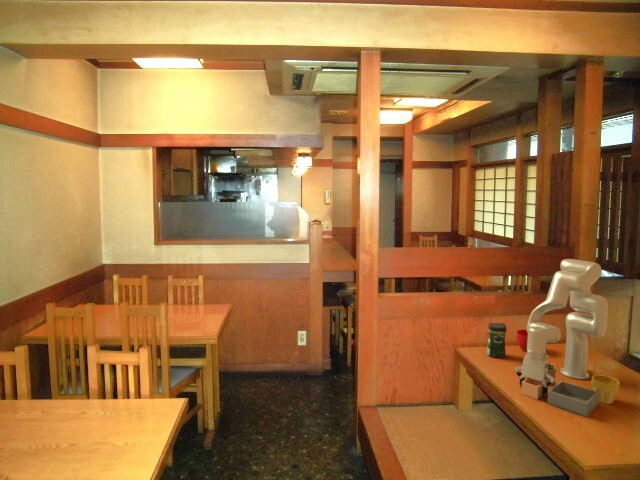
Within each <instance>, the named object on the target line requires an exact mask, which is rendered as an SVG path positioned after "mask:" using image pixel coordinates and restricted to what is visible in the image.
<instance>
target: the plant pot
mask: <svg viewBox="0 0 640 480" xmlns="http://www.w3.org/2000/svg"><path fill="white" fill-rule="evenodd" d="M620 384H621V383H620V380H619V379H617V378H615V377H612V376H609V375H605V374H594V375H592V376H591V385H592V388H593V389H592V390H594V391H597V392H599V394H598V403H601V404H606V405H612V404H613V403H614V400H615V398H616V395H617V392H618V391H619V390H620Z"/></svg>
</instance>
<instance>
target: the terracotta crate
mask: <svg viewBox="0 0 640 480" xmlns="http://www.w3.org/2000/svg"><path fill="white" fill-rule="evenodd" d="M543 386H544V385H543V384H542V382H540V381H537V380H534V379H531V378H528V377H525V380H524V381H522V388H521V391H520V393H521V394H520V395H522V396H525V397H527V398H530V397H531V399H533V398H534V399H533V400H536V399H540V398H541V397H542V396H543V395H542V389H543Z"/></svg>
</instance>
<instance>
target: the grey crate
mask: <svg viewBox="0 0 640 480" xmlns="http://www.w3.org/2000/svg"><path fill="white" fill-rule="evenodd" d="M598 394H599V392H597V391H594V389H591V388H587V387H584V386H579V385H577V384H574V383H570V382H567V381H565V380H560V381H559V382H558V383H555V385H553V386H552V387H551V388H550V389H548V392H547V402H546V403H547V405H549V406H552V407H555V408H558V409H561V410H564V411H566V412H570V413H572V414H575V415H578V416H580V417H582V418H583V417H584V418H587V417H588V416H589V415H590V414H591V413H592V412H593V411H594V410H595V409H596V408H597V406H598V403H599V401H598Z"/></svg>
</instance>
